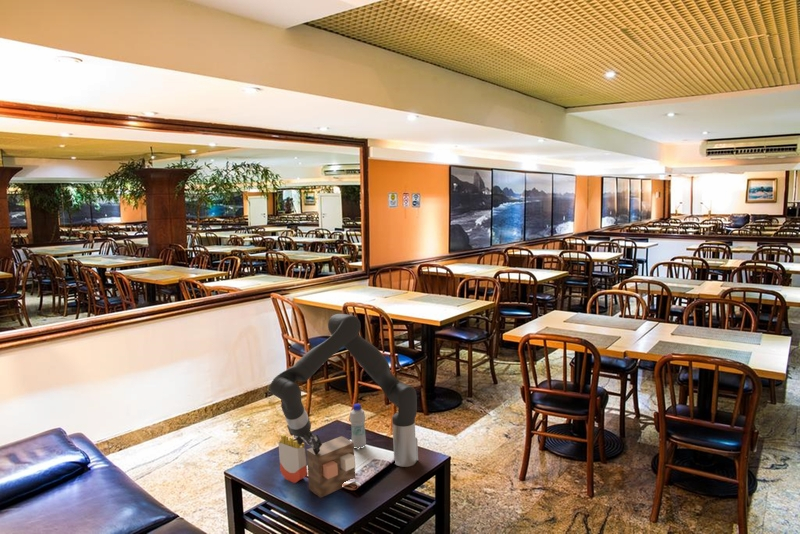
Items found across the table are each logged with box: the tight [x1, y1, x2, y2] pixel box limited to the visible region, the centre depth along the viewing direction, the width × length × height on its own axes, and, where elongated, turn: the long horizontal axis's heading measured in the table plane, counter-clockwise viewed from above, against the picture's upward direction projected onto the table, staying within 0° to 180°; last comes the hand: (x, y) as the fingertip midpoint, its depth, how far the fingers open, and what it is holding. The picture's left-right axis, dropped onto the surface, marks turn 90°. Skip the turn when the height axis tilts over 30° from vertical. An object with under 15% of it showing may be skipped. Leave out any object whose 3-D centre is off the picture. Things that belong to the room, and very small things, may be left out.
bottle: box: [349, 403, 367, 449], centre depth 232 cm, size 7×7×20 cm
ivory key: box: [340, 453, 356, 471], centre depth 200 cm, size 4×4×4 cm
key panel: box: [306, 435, 356, 499], centre depth 202 cm, size 16×8×16 cm, turn 131°
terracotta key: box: [322, 460, 338, 479], centre depth 195 cm, size 4×4×4 cm
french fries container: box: [277, 433, 308, 484], centre depth 208 cm, size 5×11×18 cm, turn 54°
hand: (309, 447), depth 198 cm, fingers open, 8 cm apart
